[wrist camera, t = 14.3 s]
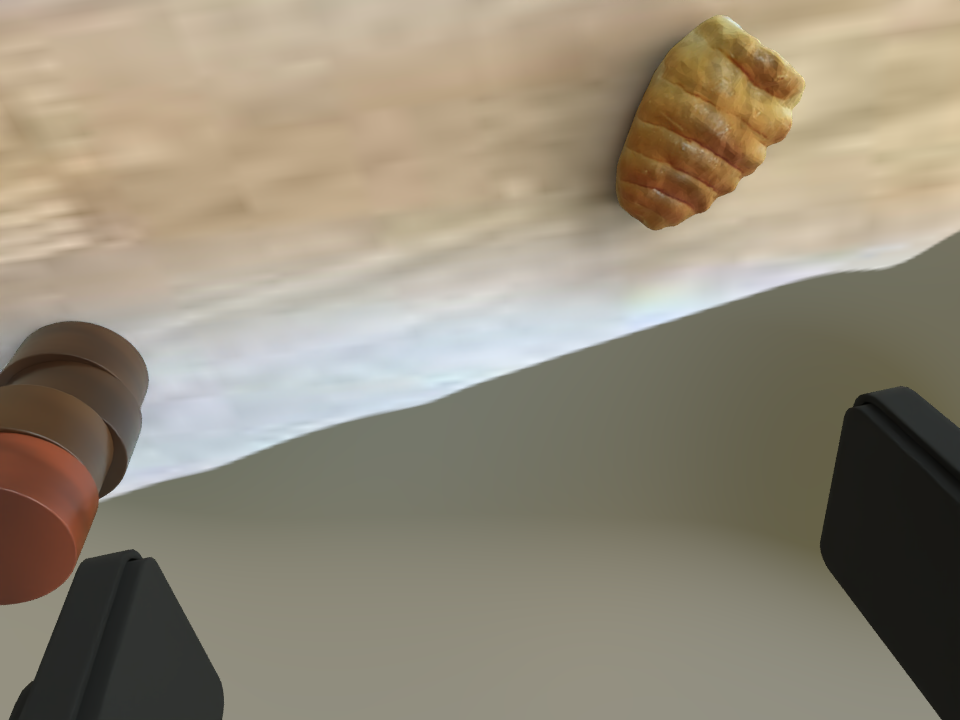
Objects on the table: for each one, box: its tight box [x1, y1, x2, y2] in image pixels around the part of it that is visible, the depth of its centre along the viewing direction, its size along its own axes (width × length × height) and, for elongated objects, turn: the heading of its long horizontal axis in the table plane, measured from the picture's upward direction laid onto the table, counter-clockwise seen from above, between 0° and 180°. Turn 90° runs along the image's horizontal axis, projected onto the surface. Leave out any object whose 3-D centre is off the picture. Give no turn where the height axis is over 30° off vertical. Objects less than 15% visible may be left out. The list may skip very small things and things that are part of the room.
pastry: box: [616, 15, 805, 230], centre depth 33 cm, size 9×7×4 cm
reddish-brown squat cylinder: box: [0, 432, 99, 605], centre depth 27 cm, size 6×6×3 cm
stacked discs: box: [0, 321, 149, 499], centre depth 32 cm, size 7×7×9 cm
